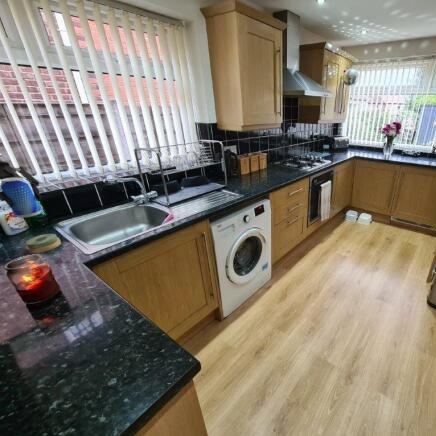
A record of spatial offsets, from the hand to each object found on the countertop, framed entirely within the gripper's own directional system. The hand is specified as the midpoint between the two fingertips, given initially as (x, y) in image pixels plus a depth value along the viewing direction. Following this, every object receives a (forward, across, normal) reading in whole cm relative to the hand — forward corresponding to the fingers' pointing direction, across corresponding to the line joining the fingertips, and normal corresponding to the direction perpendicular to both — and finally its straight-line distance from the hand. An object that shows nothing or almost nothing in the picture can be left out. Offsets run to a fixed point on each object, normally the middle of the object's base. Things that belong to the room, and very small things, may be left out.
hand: (26, 202), depth 103 cm
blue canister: (+2, 0, -7) cm, 7 cm away
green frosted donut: (+16, +1, -13) cm, 21 cm away
